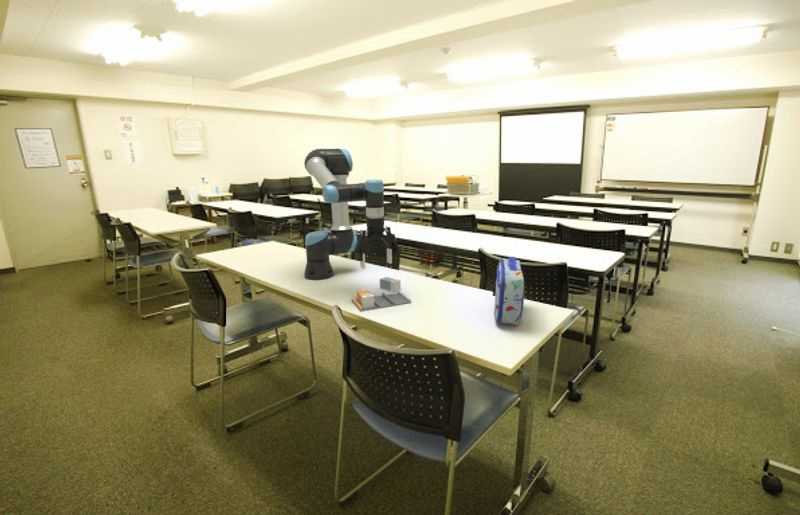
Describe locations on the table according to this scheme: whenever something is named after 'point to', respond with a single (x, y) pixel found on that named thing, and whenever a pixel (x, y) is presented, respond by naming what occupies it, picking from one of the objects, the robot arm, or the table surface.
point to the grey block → (390, 284)
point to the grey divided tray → (385, 301)
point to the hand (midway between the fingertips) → (376, 265)
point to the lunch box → (509, 292)
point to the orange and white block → (365, 299)
